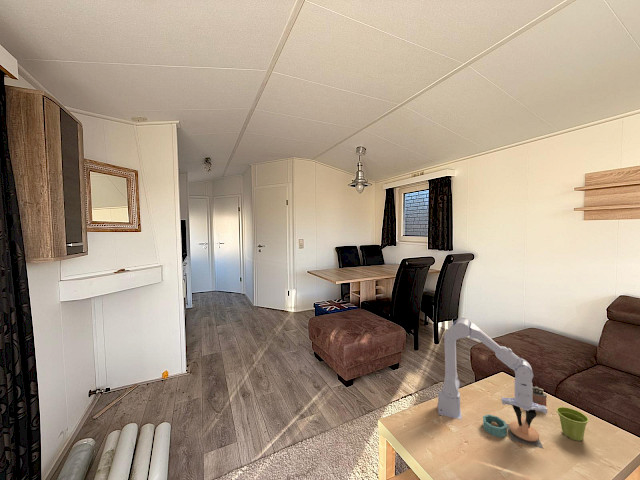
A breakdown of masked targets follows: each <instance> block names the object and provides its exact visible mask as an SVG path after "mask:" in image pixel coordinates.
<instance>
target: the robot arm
mask: <svg viewBox="0 0 640 480" xmlns="http://www.w3.org/2000/svg"><path fill="white" fill-rule="evenodd" d="M443 336H444V343H443V344H444V371H445V372H444V380H443V381H444V382H443V385H442V389H441V390H438V391H437V393H438V394H437V395H438V396H437V399H438V400H437V409H438V410H437V412H438V413H437V414H438V415H439V416H446V417H449V418H454V419H458V420H460V421H462V420H463V419H462V418H463V417H462V410H461V394H460V391H459V389H460V385H461V381H460V379H459V378H458V377H459V376H458V372H457V369H458V368H457V366H458V365H457V340H459V339H464V338H468V337H469V339H473V340H474V339H475V340H476V339H477V340H479V342H481V343H482V344H483V345H485V346H486V347H488V348H489V349H490V350H492V351H493V353H495V357H496V358H497V359H498V360H500V361H501V362H502V363H503V364H505V365H506V367H508V368H509V369H511V370H513V371H514V374H515V377H514V397H502V396H501V404H502V405H508V406H512V408H513V410H514V413H515V415H516V419H517V422H518V424H519V426H521V416H522V413H523V412H522V410H523V411H525V419H526V421H527V423H528V428H530V426H531V424H532V422H533V420H534V419H535V418H536V417H537V412H540V413H543V414H545V415H548V408H547V405H546V406H543V405H539V404H536V403H533V400H532V386H533V378H534V375H535V374H534V372H533V369H532V366H531V364H530V363H529V362H528V360H526V359H524V358H522V357H519V356H518V355H516V353H514V352H513V350H512V349H511V348H510V347H506V346H505V345H504V346H503V345H499V344H498V343H497V342H496V341H495V340H493V338H491V337H490V336H489V335H487V334H486V333H485V332H484V331H483V330H482V329H480V328H479V327H478V325H476V324H475V323H474V322H471V321H470V320H469V319H468V318H465V317H460V318H458V319H456V320H454V321H453V322H452V324H451V325H450V326H449V327H448V329H447V330H446V331H445V333H444V335H443Z"/></svg>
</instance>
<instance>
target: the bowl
mask: <svg viewBox="0 0 640 480" xmlns="http://www.w3.org/2000/svg"><path fill="white" fill-rule="evenodd" d="M491 422H496V423H497V424H498V425H499V427H496V426H492V425H491ZM506 424H507V422H506V421H505V420H503V419H502V418H501V417H499V416H496V415H492V414H485V415H483V416H482V427H483V430H484V431H486V433H488V434H490V435H491V436H494V437H498V438H504V437H507V436H508V428H507V425H506Z"/></svg>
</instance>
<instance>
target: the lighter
mask: <svg viewBox="0 0 640 480" xmlns="http://www.w3.org/2000/svg"><path fill="white" fill-rule="evenodd" d="M547 397H548V394H547V393H545V392H544V389H543V388H540V387H538V386H533V385H532V400H533V403H536V404H539V405H543V406H546V407H547Z"/></svg>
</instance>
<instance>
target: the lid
mask: <svg viewBox="0 0 640 480" xmlns="http://www.w3.org/2000/svg"><path fill="white" fill-rule="evenodd" d="M508 424H509V429H510V431H511V432H512V433H513V434H514V435H516V436H518V437H519V438H522V439H524V440H527V441H537V440H540V434H539V432H538V431H537V430H536V429H535V428H534V427H532V426H531V425H530V428H528V423H527V421H526V416H522V415H521V426H519V424H518V421H511V422H510V423H508Z"/></svg>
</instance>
